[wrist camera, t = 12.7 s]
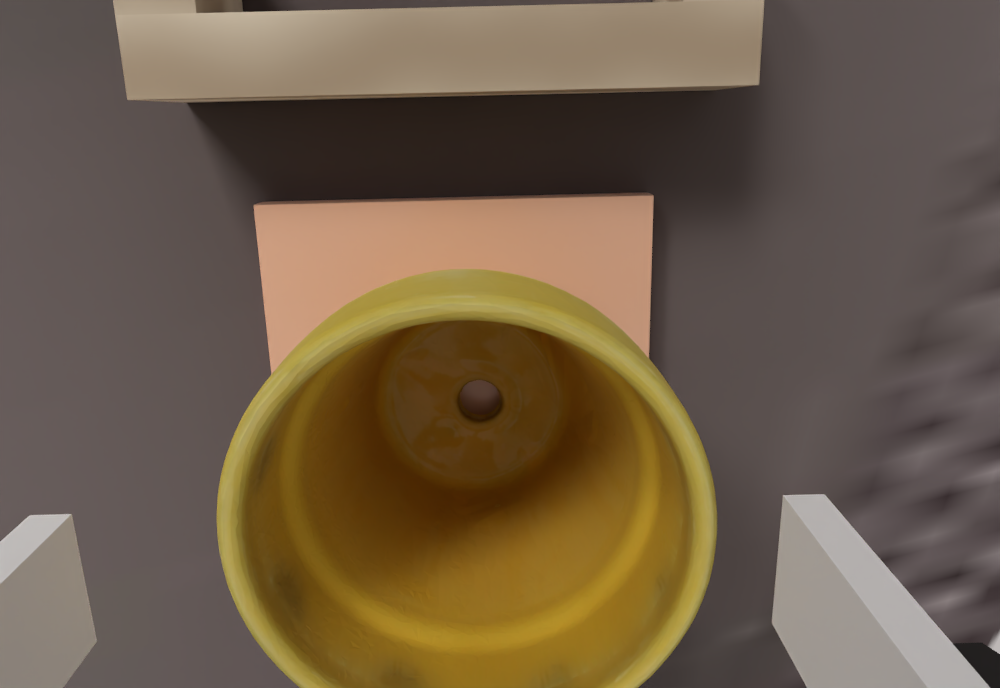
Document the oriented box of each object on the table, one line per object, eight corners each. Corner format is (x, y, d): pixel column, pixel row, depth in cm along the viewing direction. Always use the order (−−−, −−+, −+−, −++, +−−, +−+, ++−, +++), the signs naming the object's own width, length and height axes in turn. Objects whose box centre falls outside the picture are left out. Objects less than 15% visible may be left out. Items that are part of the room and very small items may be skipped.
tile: (262, 201, 25) (253, 205, 24) (647, 192, 25) (653, 195, 24) (298, 545, 28) (291, 560, 27) (638, 536, 28) (643, 551, 27)
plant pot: (681, 273, 25) (797, 370, 15) (587, 562, 27) (636, 796, 18) (350, 188, 24) (256, 235, 14) (288, 494, 26) (175, 702, 17)
